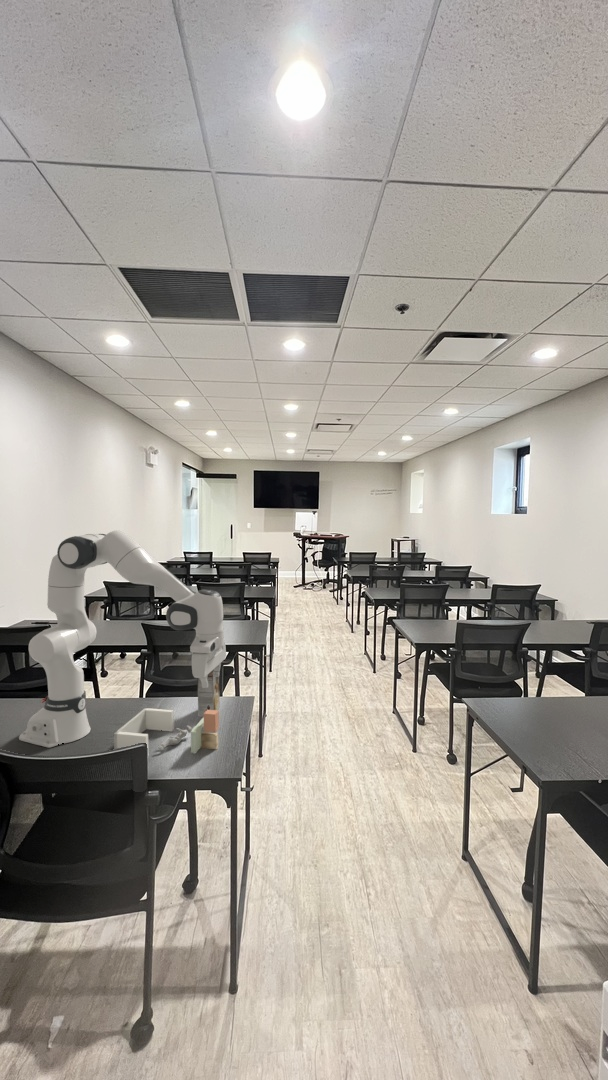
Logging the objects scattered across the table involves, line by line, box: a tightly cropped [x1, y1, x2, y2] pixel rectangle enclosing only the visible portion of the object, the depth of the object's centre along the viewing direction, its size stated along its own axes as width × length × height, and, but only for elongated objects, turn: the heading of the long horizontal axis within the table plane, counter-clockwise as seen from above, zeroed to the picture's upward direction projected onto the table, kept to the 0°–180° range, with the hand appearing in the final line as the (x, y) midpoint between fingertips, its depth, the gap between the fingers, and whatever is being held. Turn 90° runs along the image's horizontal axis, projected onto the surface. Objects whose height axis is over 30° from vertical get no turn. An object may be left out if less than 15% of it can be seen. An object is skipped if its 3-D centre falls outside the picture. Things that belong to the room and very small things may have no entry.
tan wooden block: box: [199, 732, 219, 750], centre depth 148 cm, size 8×2×5 cm, turn 80°
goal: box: [113, 707, 175, 757], centre depth 152 cm, size 11×19×7 cm, turn 170°
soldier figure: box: [157, 724, 193, 751], centre depth 151 cm, size 8×5×12 cm
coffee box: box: [196, 669, 221, 718], centre depth 174 cm, size 9×6×16 cm
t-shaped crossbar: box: [190, 709, 220, 754], centre depth 148 cm, size 6×12×11 cm, turn 170°
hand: (210, 681), depth 146 cm, fingers open, 8 cm apart
